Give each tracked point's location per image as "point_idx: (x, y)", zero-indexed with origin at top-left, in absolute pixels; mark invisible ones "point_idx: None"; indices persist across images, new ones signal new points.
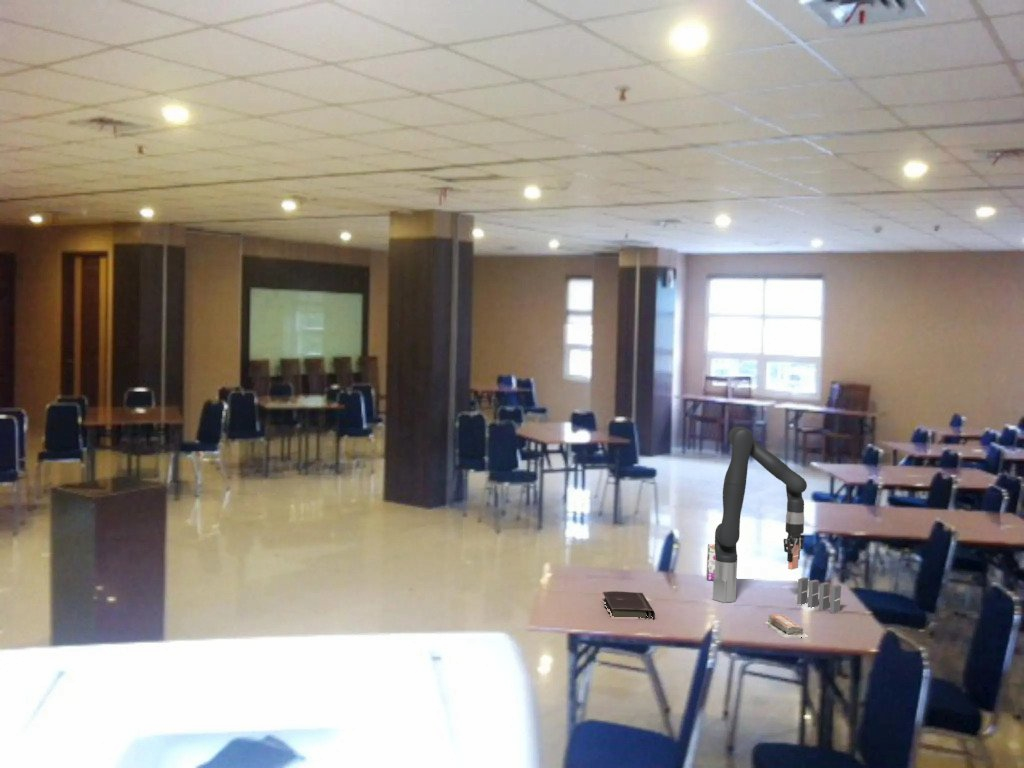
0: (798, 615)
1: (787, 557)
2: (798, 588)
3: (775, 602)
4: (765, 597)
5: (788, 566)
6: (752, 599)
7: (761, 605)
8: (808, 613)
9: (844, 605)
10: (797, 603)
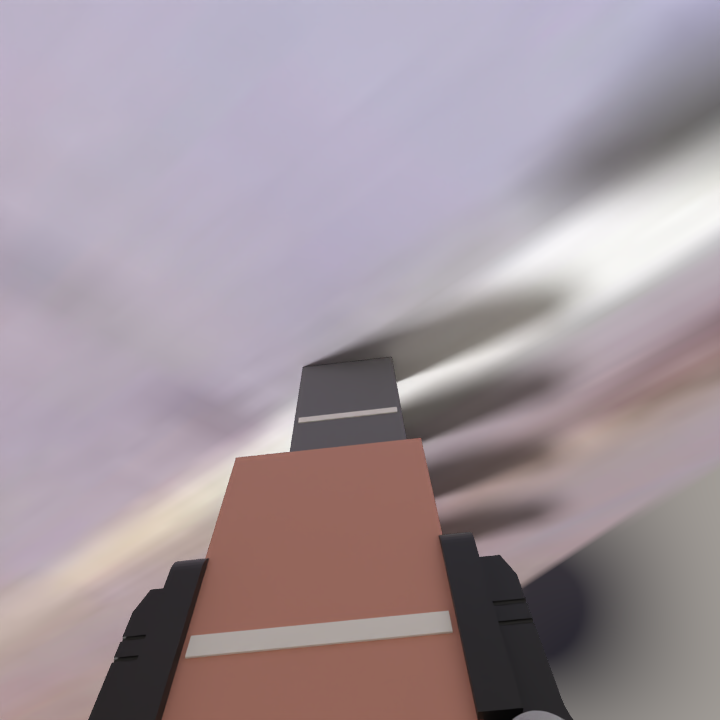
0: (122, 500)
1: (119, 649)
2: (292, 446)
3: (188, 248)
4: (218, 88)
5: (229, 488)
6: (44, 58)
7: (11, 240)
8: (212, 505)
9: (546, 514)
10: (302, 374)
